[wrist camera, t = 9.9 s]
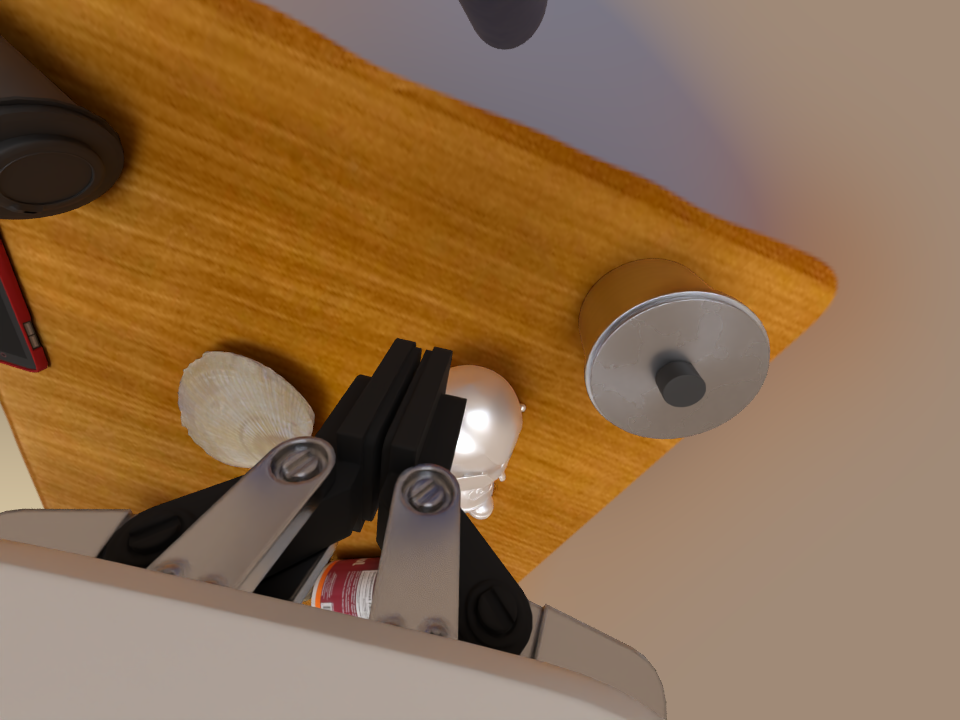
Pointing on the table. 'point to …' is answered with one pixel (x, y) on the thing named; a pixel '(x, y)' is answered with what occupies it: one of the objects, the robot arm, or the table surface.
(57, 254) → the table surface
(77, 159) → the coffee cup
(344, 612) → the pill bottle
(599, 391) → the pot
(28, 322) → the cell phone
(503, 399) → the figurine
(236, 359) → the seashell
